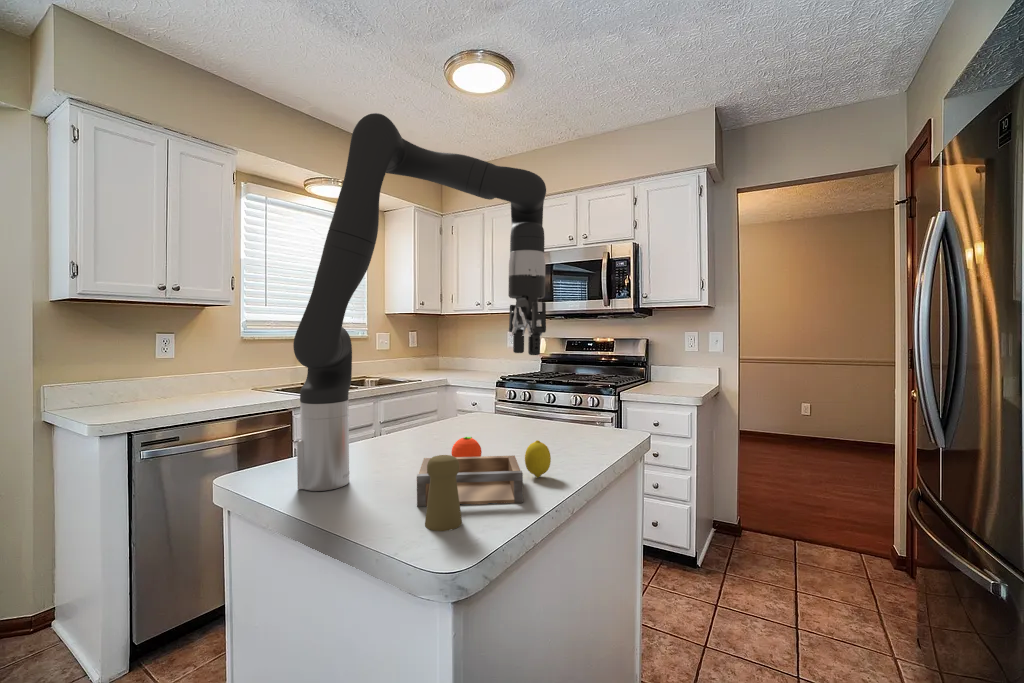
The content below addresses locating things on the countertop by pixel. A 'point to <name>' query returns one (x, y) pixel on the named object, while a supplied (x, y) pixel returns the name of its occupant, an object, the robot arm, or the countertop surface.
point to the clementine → (466, 448)
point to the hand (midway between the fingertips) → (526, 354)
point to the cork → (443, 494)
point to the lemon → (537, 458)
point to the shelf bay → (480, 480)
